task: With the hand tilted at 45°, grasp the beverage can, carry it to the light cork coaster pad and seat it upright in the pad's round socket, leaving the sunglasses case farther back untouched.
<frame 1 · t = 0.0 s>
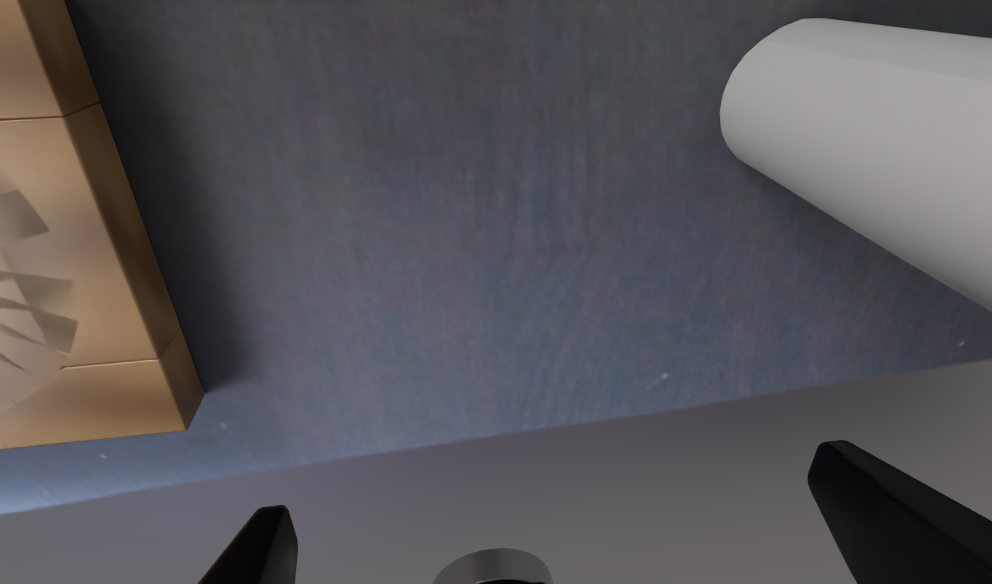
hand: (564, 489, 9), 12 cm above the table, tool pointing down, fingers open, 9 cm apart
beverage can: (778, 95, 19), on the table
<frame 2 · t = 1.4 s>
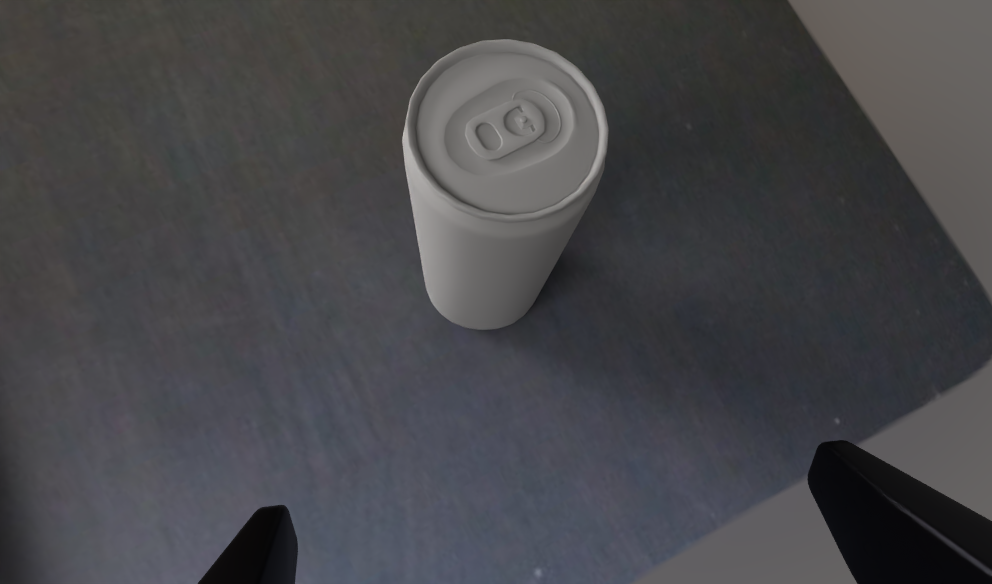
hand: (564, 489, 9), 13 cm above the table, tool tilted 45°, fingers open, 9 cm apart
beverage can: (481, 280, 24), on the table
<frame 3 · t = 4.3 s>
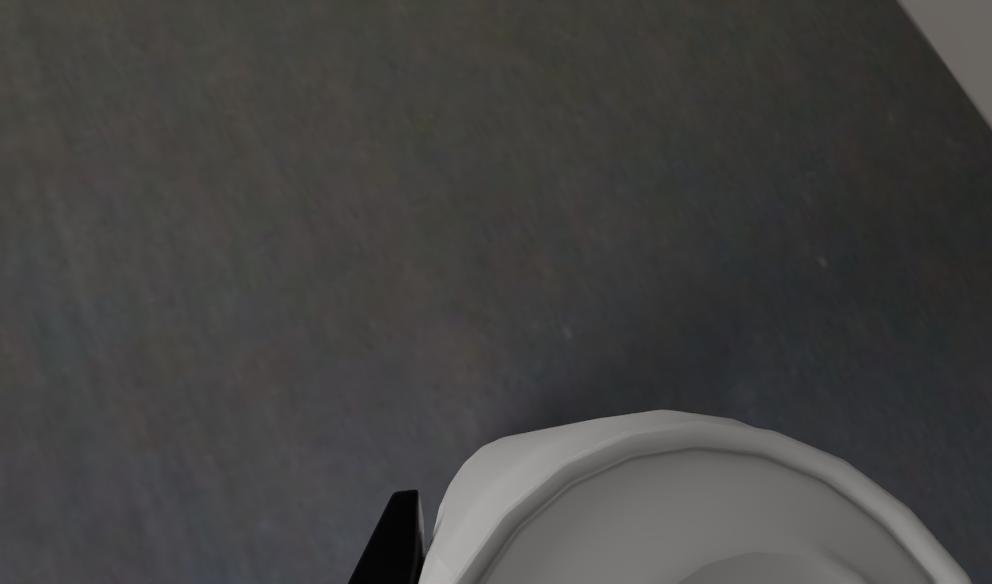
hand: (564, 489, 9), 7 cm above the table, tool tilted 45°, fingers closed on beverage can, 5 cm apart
beverage can: (523, 524, 16), on the table, touching gripper
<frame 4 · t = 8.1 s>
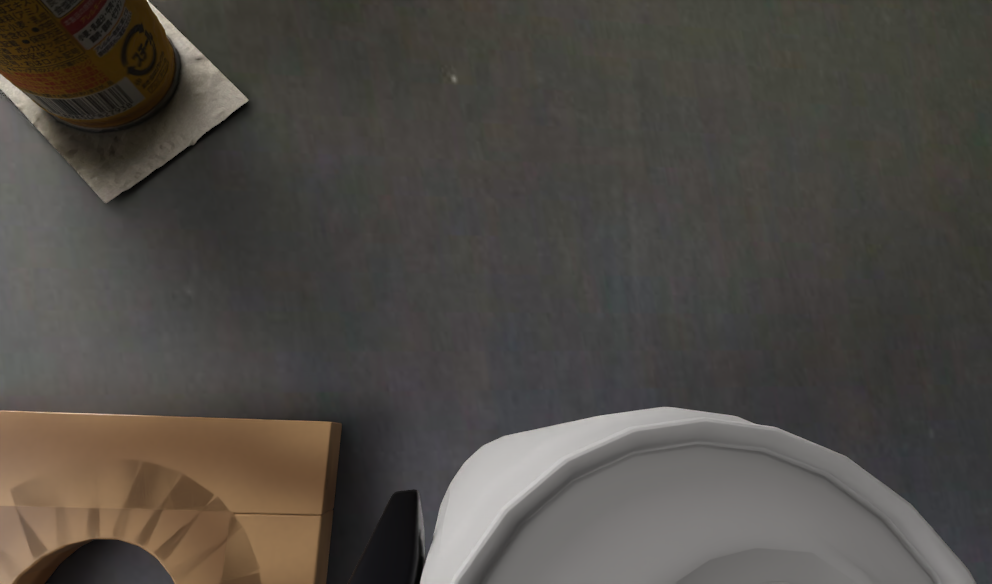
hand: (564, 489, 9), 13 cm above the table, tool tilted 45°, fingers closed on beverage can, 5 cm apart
condiment: (124, 92, 25), on the table
beverage can: (524, 523, 16), point 6 cm above the table, touching gripper
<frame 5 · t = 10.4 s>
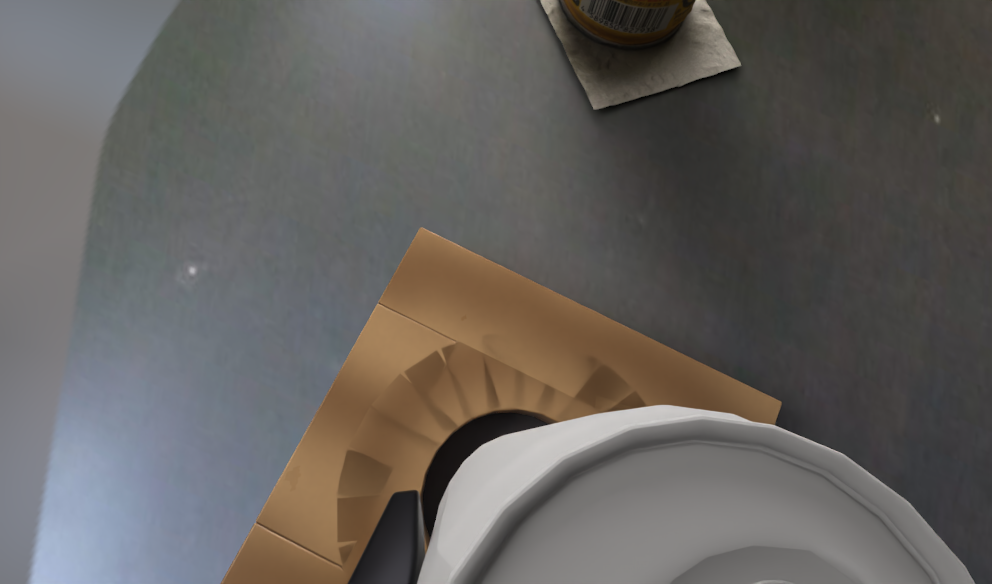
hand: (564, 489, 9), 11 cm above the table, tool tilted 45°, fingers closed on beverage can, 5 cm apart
coaster pad: (507, 498, 20), on the table
condiment: (626, 15, 26), on the table
beverage can: (523, 523, 16), point 4 cm above the table, touching gripper
when the fingers open (7 cm above the table, at t = 12.2 s): beverage can stays where it is, resting in coaster pad.
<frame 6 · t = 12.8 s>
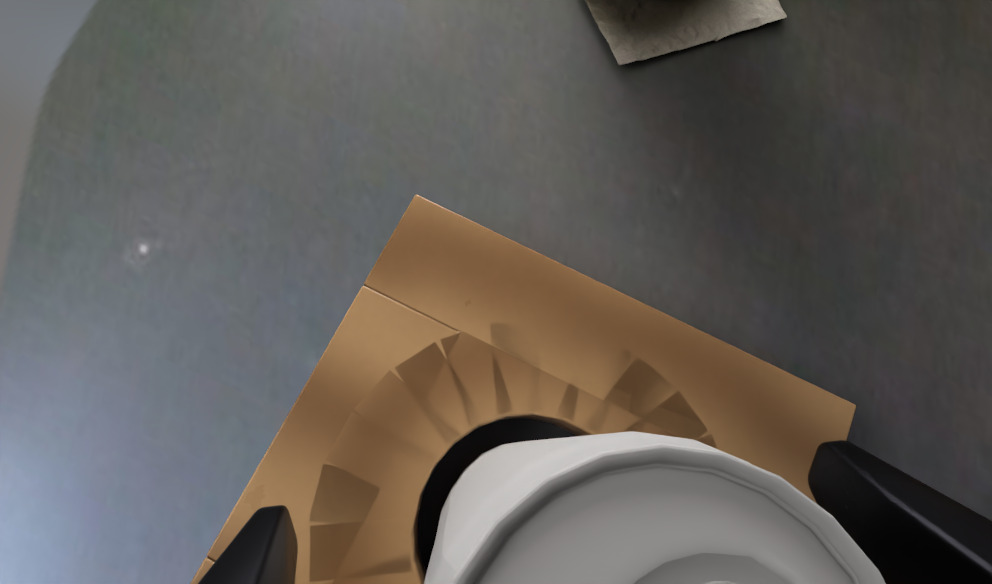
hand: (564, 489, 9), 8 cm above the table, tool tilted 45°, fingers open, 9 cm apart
coaster pad: (521, 523, 16), on the table
beverage can: (520, 527, 17), resting in coaster pad
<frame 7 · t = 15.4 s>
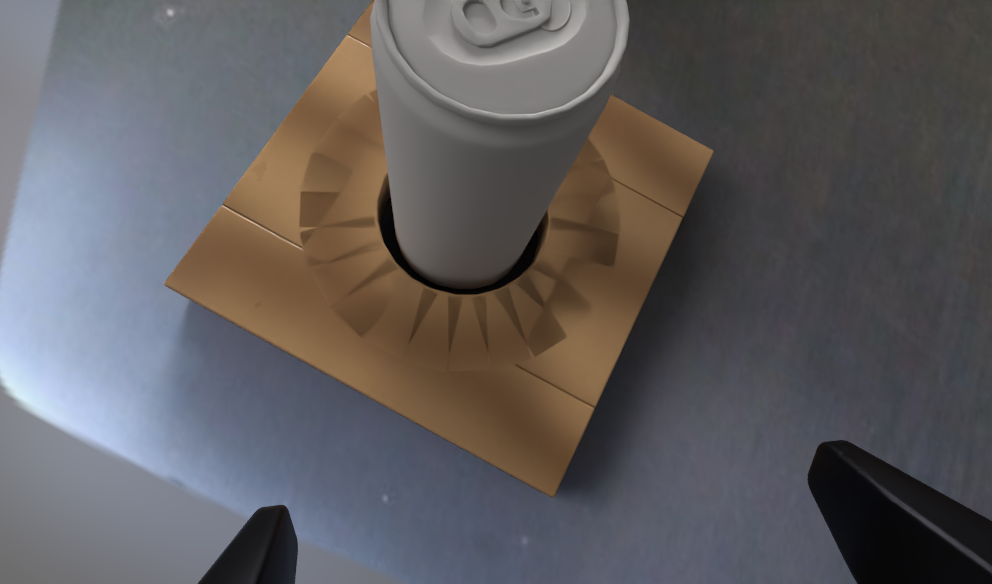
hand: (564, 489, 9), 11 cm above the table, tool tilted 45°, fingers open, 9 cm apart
coaster pad: (460, 230, 22), on the table
beverage can: (460, 235, 22), resting in coaster pad
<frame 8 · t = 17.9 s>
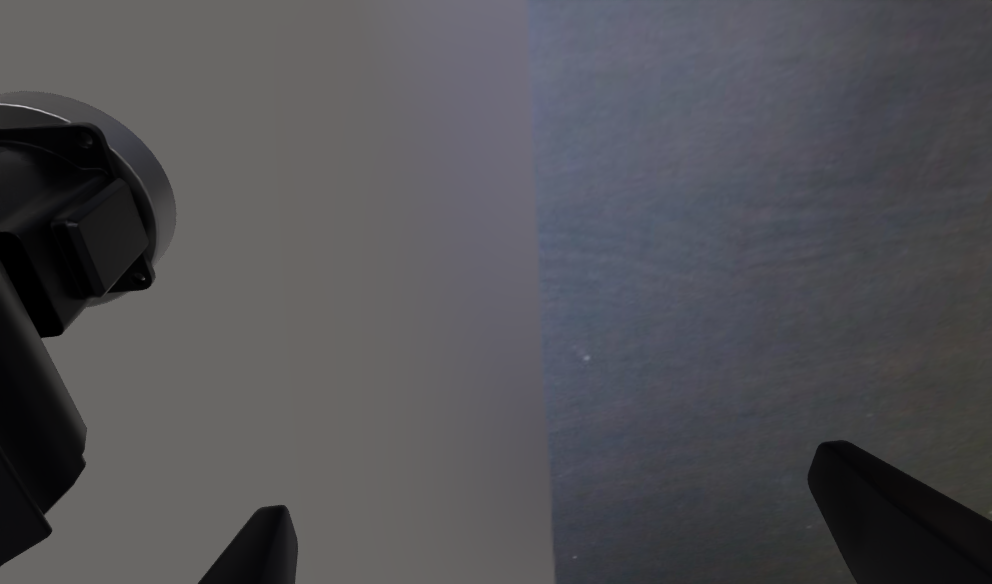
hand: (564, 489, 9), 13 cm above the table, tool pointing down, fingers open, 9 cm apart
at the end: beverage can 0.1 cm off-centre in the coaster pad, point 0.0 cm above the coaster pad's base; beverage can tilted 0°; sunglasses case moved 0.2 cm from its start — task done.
